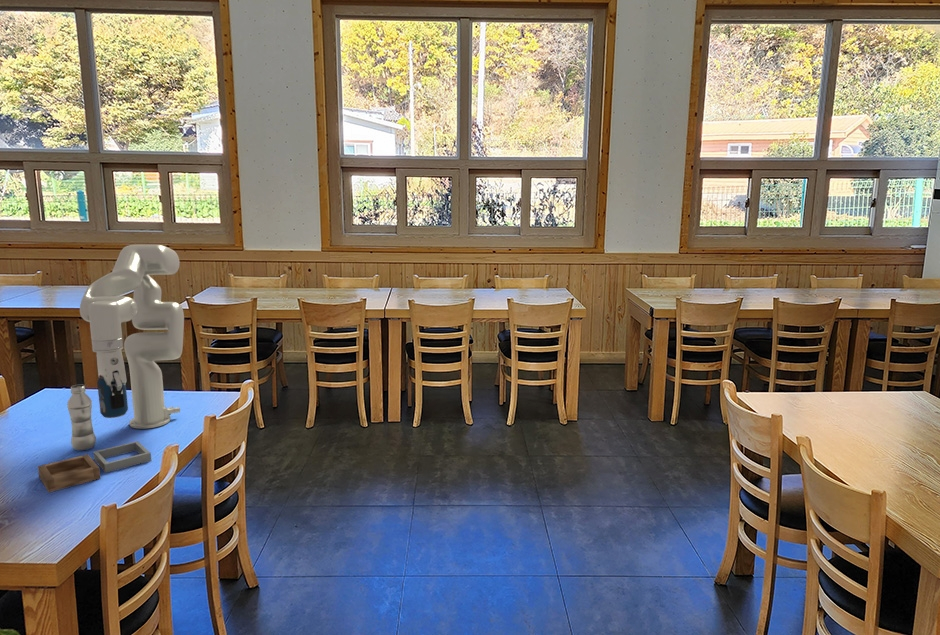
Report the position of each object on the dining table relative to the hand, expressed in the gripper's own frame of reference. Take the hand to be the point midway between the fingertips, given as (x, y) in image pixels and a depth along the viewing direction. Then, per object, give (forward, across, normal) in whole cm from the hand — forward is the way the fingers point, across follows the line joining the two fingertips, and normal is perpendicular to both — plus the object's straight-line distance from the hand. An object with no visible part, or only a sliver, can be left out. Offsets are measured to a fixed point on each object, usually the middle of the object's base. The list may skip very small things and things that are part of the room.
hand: (113, 404), depth 175 cm
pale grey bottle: (+18, +17, +5) cm, 25 cm away
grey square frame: (+18, 0, -1) cm, 18 cm away
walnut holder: (+18, -3, +13) cm, 22 cm away
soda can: (+3, 0, 0) cm, 3 cm away
